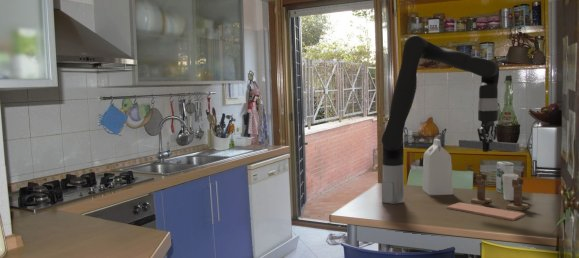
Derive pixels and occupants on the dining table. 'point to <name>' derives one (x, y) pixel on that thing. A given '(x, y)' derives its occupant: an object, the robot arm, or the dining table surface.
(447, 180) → the milk
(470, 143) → the rail
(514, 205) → the stand right
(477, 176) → the stand left
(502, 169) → the syrup box
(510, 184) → the cup
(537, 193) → the dining table surface
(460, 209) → the mat
